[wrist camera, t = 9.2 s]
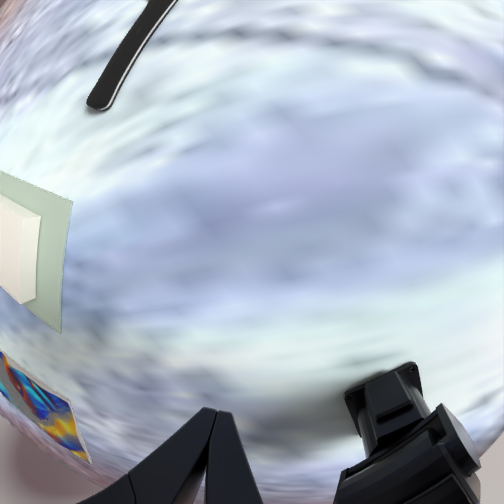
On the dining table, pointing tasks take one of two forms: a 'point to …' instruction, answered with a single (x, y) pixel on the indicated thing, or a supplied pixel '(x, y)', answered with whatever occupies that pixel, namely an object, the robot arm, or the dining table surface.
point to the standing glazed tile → (18, 250)
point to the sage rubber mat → (44, 244)
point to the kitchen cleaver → (128, 54)
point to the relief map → (41, 406)
